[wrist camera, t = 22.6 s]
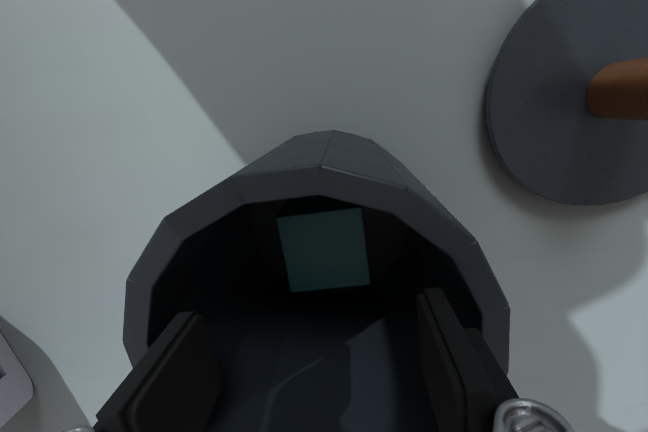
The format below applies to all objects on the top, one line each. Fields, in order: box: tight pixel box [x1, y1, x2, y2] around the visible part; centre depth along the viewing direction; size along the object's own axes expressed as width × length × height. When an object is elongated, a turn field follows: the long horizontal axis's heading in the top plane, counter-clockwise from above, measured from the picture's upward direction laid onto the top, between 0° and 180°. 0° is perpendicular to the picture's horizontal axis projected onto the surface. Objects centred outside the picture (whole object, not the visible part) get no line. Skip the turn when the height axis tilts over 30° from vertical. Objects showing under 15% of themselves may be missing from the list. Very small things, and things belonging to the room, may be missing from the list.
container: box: [123, 130, 510, 432], centre depth 16 cm, size 12×12×12 cm
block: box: [276, 195, 371, 292], centre depth 19 cm, size 4×4×4 cm
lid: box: [486, 0, 648, 206], centre depth 16 cm, size 13×13×6 cm
